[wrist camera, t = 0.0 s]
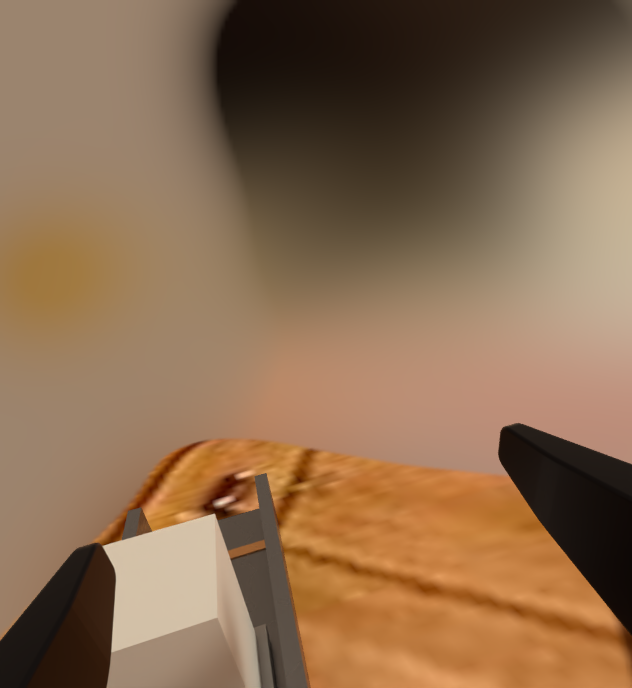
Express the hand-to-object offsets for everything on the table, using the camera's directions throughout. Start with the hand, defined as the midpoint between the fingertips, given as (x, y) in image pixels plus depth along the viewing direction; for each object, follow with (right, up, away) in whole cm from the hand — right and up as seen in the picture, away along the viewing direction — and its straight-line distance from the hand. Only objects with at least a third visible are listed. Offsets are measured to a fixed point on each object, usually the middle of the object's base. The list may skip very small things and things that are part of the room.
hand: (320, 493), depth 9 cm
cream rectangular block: (-5, -13, +9) cm, 17 cm away
